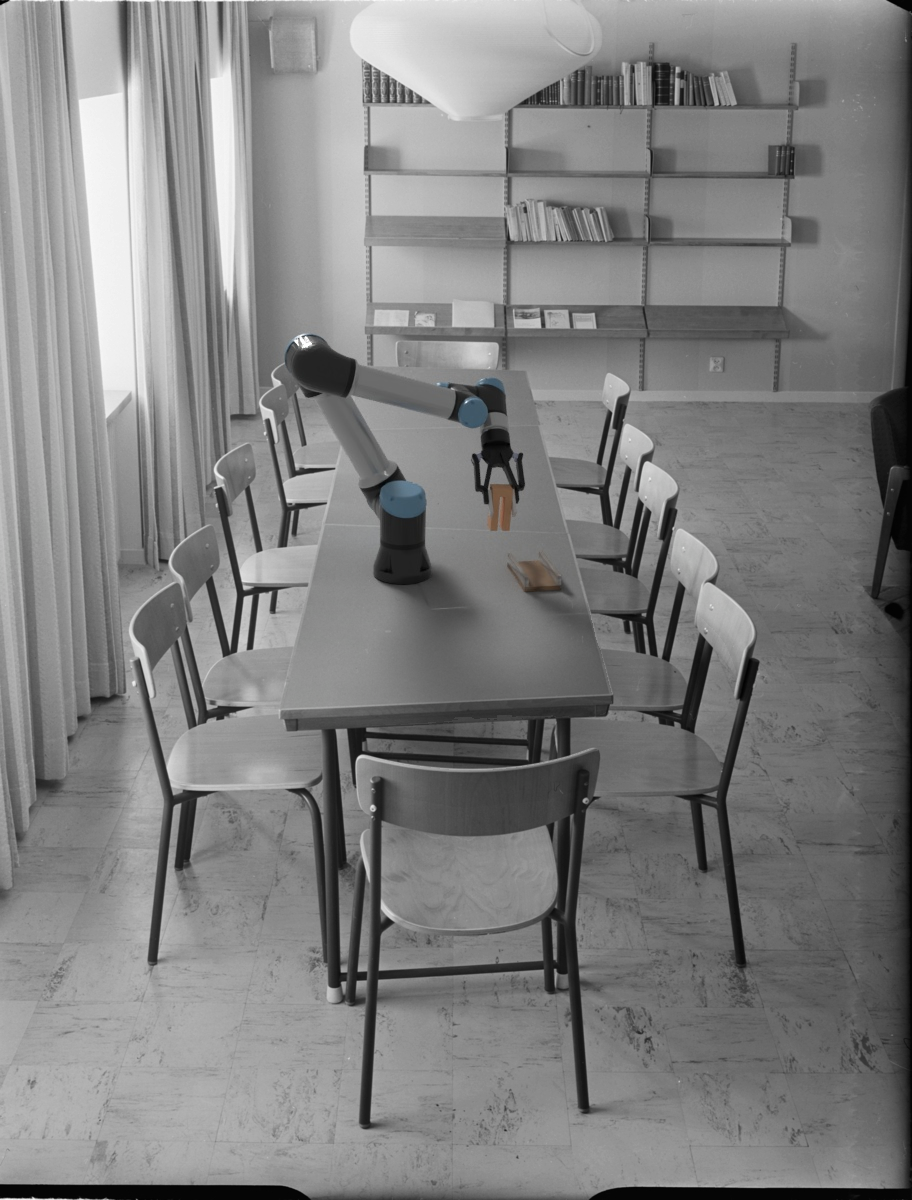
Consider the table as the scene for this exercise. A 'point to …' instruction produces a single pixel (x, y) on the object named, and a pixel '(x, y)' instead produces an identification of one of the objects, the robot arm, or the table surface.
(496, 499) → the clip
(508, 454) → the robot arm
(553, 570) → the rail
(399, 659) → the table surface
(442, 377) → the table surface
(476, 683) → the table surface
